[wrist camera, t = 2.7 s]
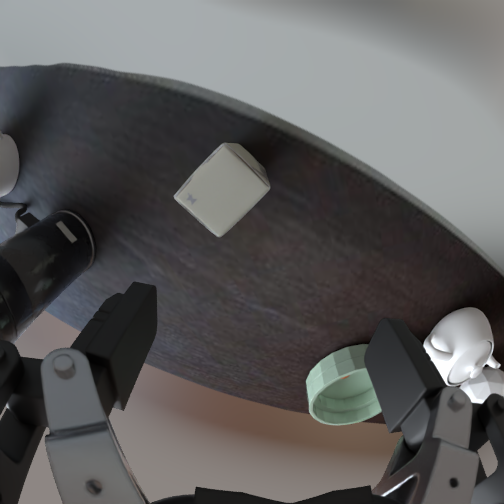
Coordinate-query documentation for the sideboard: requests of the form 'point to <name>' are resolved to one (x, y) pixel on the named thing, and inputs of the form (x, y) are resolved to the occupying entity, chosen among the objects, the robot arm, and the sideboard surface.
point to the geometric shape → (484, 385)
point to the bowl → (342, 388)
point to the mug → (8, 164)
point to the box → (224, 188)
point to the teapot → (461, 346)
